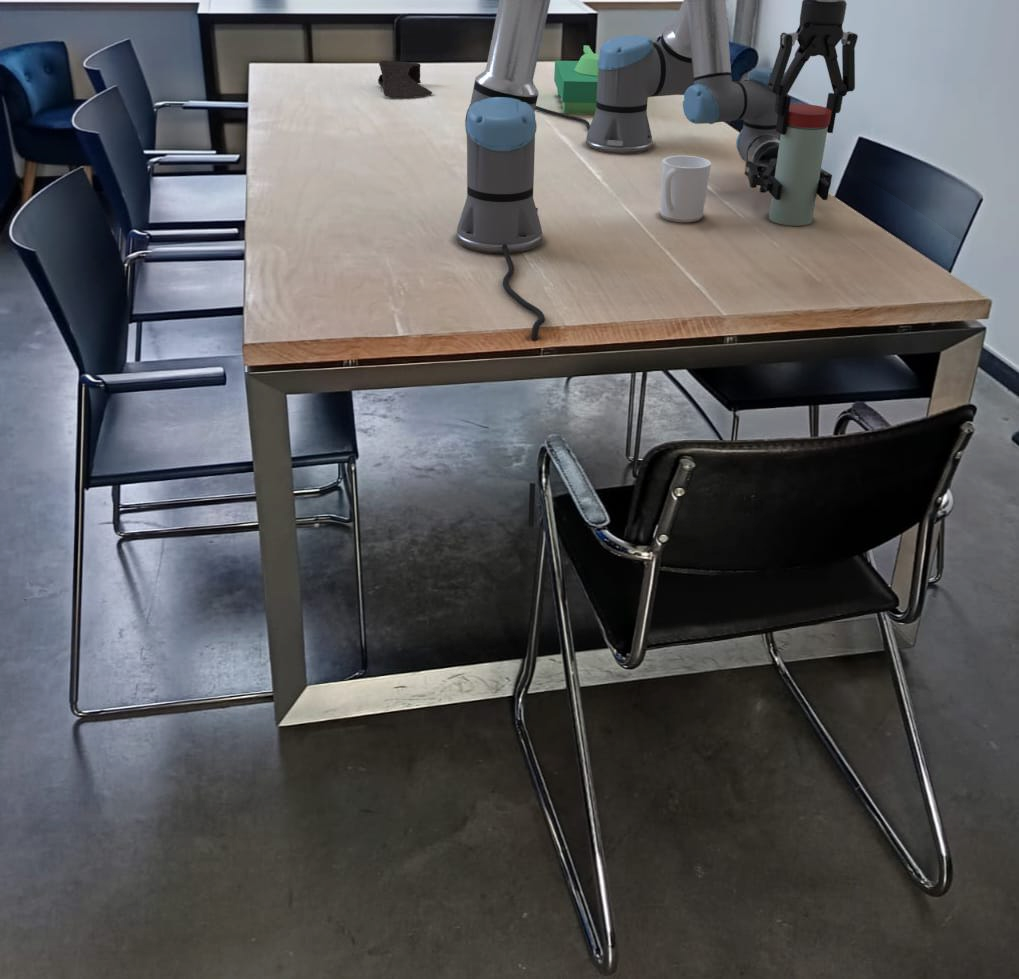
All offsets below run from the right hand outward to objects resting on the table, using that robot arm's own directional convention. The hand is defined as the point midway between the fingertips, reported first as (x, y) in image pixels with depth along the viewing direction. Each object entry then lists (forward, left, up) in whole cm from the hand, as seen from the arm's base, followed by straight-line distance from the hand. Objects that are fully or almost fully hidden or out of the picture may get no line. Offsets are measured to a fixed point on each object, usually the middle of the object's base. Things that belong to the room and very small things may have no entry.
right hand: (802, 192), depth 202 cm
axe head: (-138, -20, -6) cm, 140 cm away
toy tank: (-106, +20, -6) cm, 108 cm away
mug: (-14, -17, -6) cm, 23 cm away
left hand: (-4, +2, +10) cm, 11 cm away
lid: (-4, +2, +14) cm, 14 cm away
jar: (-4, +2, -6) cm, 8 cm away
